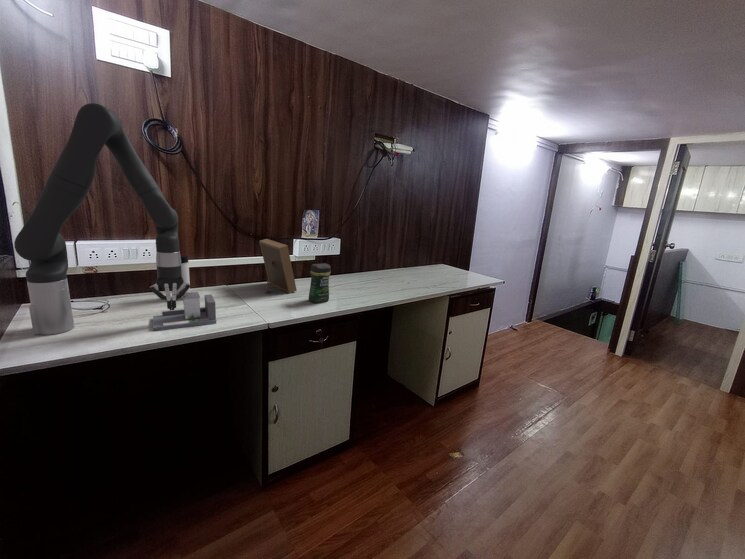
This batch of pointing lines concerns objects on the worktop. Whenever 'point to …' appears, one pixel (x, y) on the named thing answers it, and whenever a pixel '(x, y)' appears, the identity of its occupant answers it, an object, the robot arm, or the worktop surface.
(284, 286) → the photo frame
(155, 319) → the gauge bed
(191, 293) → the carriage
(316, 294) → the coffee jar
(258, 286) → the worktop surface
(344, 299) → the worktop surface
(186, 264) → the travel mug
